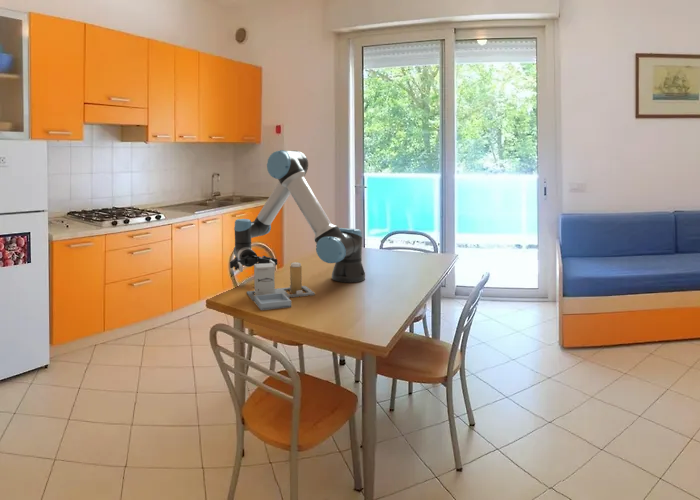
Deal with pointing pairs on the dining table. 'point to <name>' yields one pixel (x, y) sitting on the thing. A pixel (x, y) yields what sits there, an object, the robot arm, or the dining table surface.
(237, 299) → the dining table surface
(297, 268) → the amber bottle
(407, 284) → the dining table surface
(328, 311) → the dining table surface
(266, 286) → the supplement box
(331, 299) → the dining table surface
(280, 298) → the tray
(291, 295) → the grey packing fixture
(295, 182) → the robot arm
